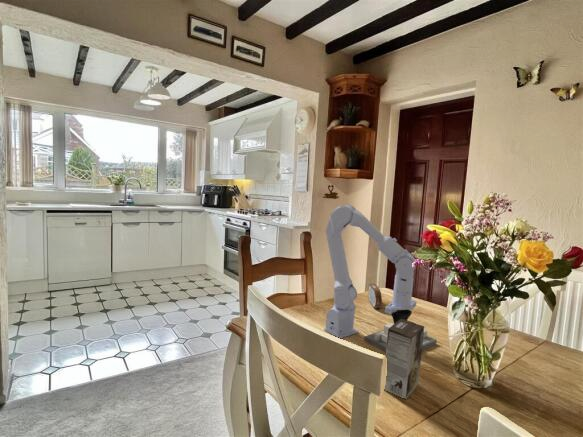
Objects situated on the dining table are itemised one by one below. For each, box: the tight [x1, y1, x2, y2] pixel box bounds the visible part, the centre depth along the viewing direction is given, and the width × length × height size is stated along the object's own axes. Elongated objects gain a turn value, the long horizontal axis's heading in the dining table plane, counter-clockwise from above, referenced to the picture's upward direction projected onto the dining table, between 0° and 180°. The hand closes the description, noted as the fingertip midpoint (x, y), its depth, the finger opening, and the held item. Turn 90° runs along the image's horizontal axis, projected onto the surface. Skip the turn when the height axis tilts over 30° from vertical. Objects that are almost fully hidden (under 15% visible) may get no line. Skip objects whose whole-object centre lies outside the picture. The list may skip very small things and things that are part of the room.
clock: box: [368, 283, 383, 309], centre depth 144 cm, size 15×3×8 cm, turn 179°
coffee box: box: [384, 319, 425, 400], centre depth 84 cm, size 9×6×16 cm
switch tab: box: [381, 322, 394, 343], centre depth 107 cm, size 5×5×5 cm
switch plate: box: [364, 329, 438, 353], centre depth 110 cm, size 20×14×4 cm
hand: (398, 330), depth 108 cm, fingers closed
